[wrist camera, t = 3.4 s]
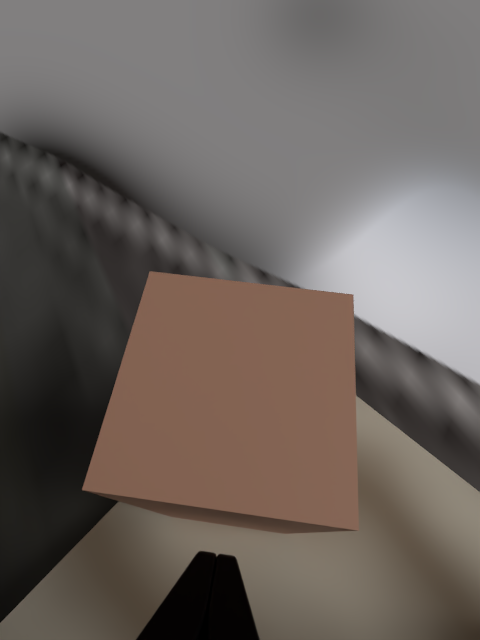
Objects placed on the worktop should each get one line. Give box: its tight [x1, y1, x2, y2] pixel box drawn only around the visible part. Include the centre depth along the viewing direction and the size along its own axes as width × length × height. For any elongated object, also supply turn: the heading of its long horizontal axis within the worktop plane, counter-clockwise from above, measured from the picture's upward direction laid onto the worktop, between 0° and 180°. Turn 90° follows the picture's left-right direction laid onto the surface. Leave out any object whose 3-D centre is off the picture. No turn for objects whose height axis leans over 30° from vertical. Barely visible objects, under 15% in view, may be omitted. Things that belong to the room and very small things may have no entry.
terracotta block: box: [82, 271, 359, 534], centre depth 11 cm, size 4×4×10 cm
